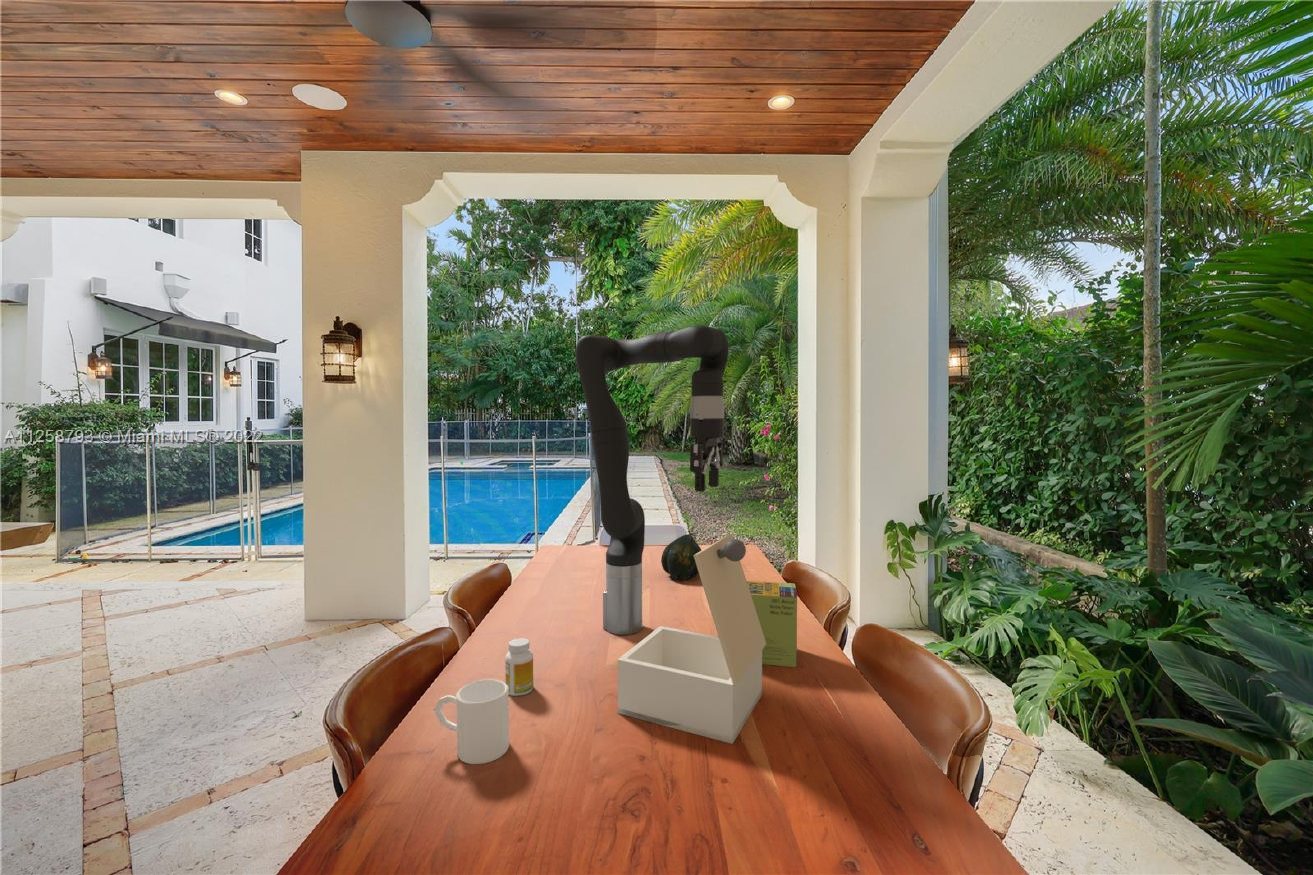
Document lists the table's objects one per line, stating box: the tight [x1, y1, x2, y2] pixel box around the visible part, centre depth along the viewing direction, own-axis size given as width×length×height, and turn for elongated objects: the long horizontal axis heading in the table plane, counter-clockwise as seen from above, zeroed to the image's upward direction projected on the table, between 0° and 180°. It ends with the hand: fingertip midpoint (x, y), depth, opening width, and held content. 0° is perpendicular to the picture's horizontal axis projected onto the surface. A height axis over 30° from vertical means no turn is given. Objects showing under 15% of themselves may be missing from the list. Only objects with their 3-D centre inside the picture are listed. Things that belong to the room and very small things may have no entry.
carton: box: [616, 625, 763, 745], centre depth 104 cm, size 22×18×10 cm
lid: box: [694, 533, 766, 685], centre depth 99 cm, size 22×18×6 cm
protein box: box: [746, 580, 798, 668], centre depth 126 cm, size 10×15×16 cm
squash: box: [660, 533, 703, 580], centre depth 188 cm, size 14×15×15 cm
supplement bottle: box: [504, 637, 534, 697], centre depth 110 cm, size 5×5×10 cm
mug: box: [433, 678, 510, 765], centre depth 90 cm, size 8×12×10 cm
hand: (707, 488), depth 124 cm, fingers open, 8 cm apart
